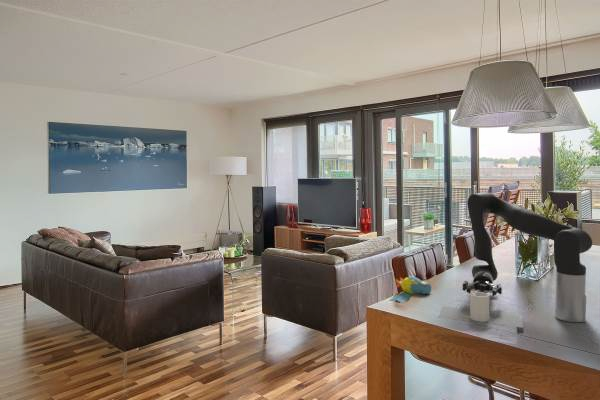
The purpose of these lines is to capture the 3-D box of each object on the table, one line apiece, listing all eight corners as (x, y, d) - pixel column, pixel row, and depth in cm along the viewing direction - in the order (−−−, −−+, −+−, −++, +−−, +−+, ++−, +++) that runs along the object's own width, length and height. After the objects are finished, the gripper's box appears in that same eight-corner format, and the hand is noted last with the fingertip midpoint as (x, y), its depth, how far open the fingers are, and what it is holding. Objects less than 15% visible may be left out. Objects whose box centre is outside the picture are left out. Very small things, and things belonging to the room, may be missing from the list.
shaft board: (521, 318, 162) (522, 292, 161) (523, 331, 149) (523, 303, 149) (443, 309, 174) (443, 285, 173) (438, 321, 161) (438, 294, 160)
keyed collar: (489, 316, 160) (489, 292, 160) (488, 322, 155) (489, 297, 154) (470, 314, 163) (470, 290, 162) (469, 320, 157) (469, 295, 157)
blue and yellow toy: (412, 268, 209) (442, 273, 200) (412, 285, 210) (442, 292, 200) (382, 280, 188) (414, 286, 179) (382, 299, 189) (414, 307, 179)
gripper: (464, 271, 184) (461, 280, 169) (502, 274, 178) (501, 284, 163) (464, 288, 185) (461, 299, 170) (501, 292, 179) (501, 304, 164)
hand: (481, 292), depth 167 cm, fingers open, 8 cm apart
